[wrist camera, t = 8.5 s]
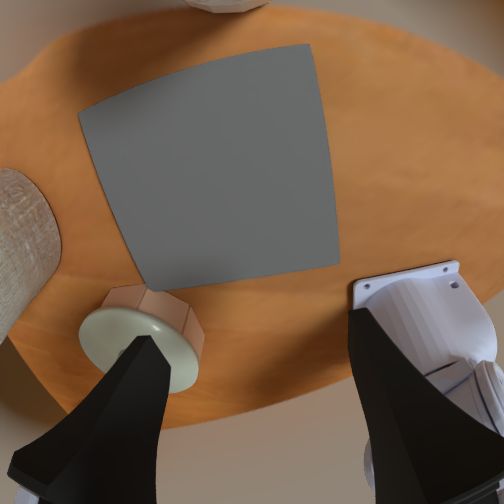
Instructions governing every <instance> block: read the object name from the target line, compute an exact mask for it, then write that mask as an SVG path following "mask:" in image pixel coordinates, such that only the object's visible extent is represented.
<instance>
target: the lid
mask: <svg viewBox="0 0 504 504" xmlns="http://www.w3.org/2000/svg"><path fill="white" fill-rule="evenodd" d="M141 335H151V337H152V338H153V340H154V342H155V343H156V345H157V346H158V348H159V349H160V351H161V352H162V354H163V355H164V357H165V358H166V360H167V361H168V363H169V364H170V366H171V378H170V388H169V393H176V392H180V391H183V390H185V389H187V388H189V387H191V386H192V385H193V384H194V383H195V381H196V379H197V376H198V371H199V357H198V355H197V352H196V350H195V349H194V347H193V346H192V344H191V343H190V342H189V341H188V340H187V339H186V338H185V336H183V335H182V334H181V333H180V332H179V331H178V330H176V329H175V328H173V327H172V326H171V325H169V324H167V323H166V322H164V321H162V320H160V319H158V318H156V317H154V316H152V315H149V314H147V313H144V312H141V311H138V310H135V309H130V308H125V307H114V306H110V307H102V308H98V309H96V310H94V311H92V312H91V313H89V314H88V315H87V316H86V318H85V320H84V321H83V323H82V325H81V327H80V330H79V340H80V344H81V347H82V349H83V351H84V352H85V354H86V355H87V357H88V358H89V359H90V360H91V362H92V363H93V364H94V365H95V366H96V367H98V368H99V369H100V370H101V371H102V372H104V373H105V374H106V373H107V372H108V371H109V369H110V368H111V367H112V366H113V364H114V363H115V362H116V361H117V359H118V358H119V357H120V356H121V354H122V353H123V352H124V351H125V349H126V348H127V347H128V346H129V345H130V343H131V342H132V341H133V340H134V339H135V338H136V336H141Z"/></svg>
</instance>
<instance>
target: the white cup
mask: <svg viewBox="0 0 504 504" xmlns="http://www.w3.org/2000/svg"><path fill="white" fill-rule="evenodd" d="M183 1H185V2H186V3H187V4H188V5H190V6H192V7H195V8H199V9H202V10H206V11H209V12H212V13H235V12H245V11H248V10H250V9H253V8H255V7H258V6H261V5H264V4H267V3H269V2H270V1H271V0H183Z"/></svg>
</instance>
